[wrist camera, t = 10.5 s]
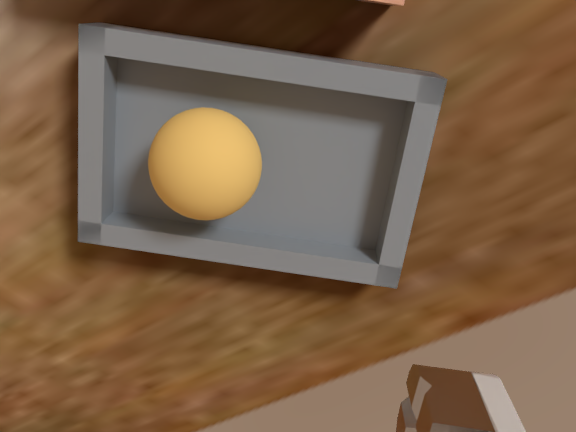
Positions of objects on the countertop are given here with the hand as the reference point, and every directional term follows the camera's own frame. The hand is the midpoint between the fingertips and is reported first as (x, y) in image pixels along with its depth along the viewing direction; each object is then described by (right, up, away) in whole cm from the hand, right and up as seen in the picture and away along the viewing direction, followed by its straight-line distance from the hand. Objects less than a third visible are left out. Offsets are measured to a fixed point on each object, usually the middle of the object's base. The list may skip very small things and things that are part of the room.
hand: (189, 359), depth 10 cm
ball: (-1, +5, +11) cm, 12 cm away
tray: (0, +5, +14) cm, 15 cm away
